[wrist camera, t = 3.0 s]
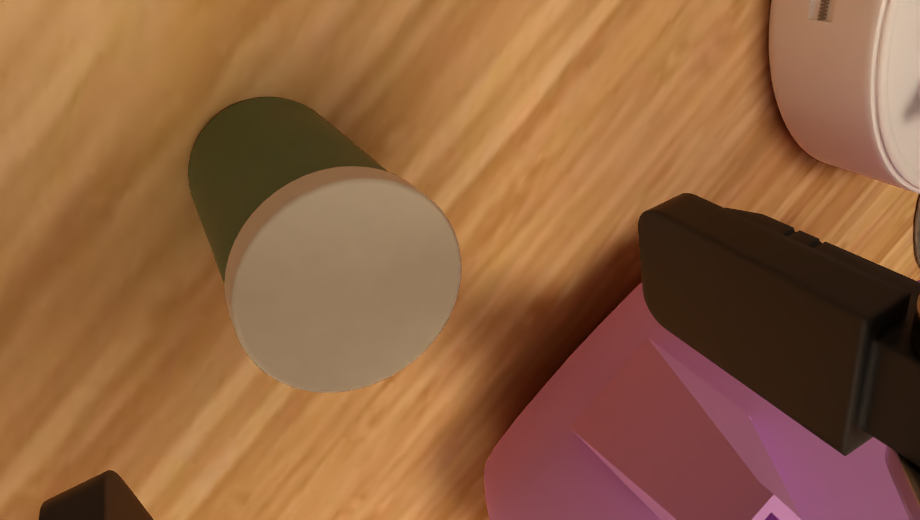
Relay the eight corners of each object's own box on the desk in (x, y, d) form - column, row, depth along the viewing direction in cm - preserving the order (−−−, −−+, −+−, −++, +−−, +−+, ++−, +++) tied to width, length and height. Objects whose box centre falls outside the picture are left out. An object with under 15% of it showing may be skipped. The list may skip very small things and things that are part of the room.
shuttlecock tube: (174, 241, 17) (215, 401, 11) (193, 76, 15) (253, 162, 10) (331, 252, 19) (433, 389, 13) (361, 108, 17) (488, 193, 12)
